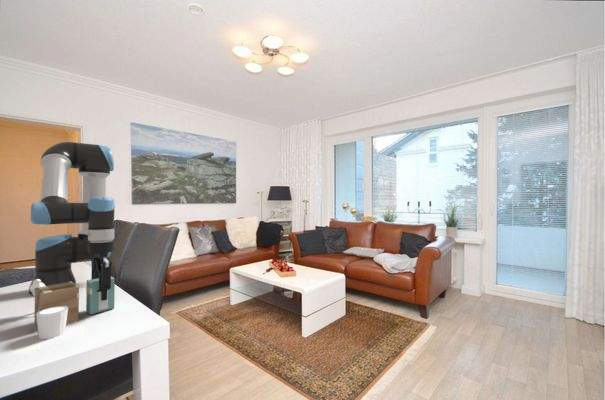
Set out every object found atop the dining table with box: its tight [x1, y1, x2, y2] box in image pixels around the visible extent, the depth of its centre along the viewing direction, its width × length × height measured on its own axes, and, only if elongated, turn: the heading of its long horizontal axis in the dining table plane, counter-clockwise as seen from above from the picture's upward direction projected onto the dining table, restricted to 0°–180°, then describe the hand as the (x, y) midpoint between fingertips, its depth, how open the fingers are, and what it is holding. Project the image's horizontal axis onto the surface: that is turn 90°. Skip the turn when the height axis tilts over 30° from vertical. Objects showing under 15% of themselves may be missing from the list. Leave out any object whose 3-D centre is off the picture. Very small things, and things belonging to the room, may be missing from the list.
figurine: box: [29, 279, 45, 317], centre depth 92 cm, size 7×4×12 cm, turn 45°
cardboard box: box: [34, 281, 80, 329], centre depth 86 cm, size 9×9×11 cm
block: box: [85, 276, 116, 316], centre depth 96 cm, size 5×7×11 cm, turn 142°
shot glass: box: [36, 306, 68, 340], centre depth 79 cm, size 7×7×7 cm
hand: (100, 307), depth 96 cm, fingers closed on block, 4 cm apart
